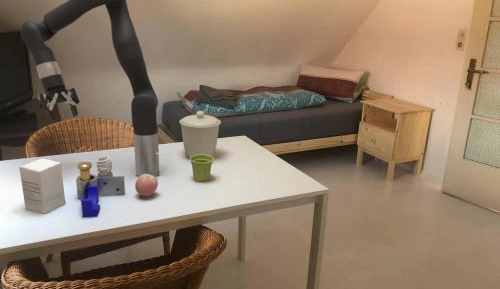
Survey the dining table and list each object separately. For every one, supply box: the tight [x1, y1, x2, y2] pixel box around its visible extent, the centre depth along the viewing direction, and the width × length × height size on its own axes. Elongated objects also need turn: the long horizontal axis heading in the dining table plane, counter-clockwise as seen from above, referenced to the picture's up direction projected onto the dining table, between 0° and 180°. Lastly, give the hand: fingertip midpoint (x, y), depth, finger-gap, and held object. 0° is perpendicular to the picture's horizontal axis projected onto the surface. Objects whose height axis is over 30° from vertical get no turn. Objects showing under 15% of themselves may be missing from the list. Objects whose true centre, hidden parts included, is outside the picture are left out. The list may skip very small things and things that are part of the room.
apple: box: [134, 174, 159, 197], centre depth 153 cm, size 8×8×8 cm
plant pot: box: [189, 154, 215, 183], centre depth 169 cm, size 9×9×9 cm
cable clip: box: [80, 185, 101, 218], centre depth 142 cm, size 12×4×6 cm, turn 9°
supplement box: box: [19, 158, 66, 215], centre depth 141 cm, size 9×9×15 cm
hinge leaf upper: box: [75, 173, 126, 197], centre depth 152 cm, size 16×7×7 cm, turn 102°
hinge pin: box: [76, 161, 92, 181], centre depth 150 cm, size 5×5×12 cm
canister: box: [179, 110, 222, 159], centre depth 192 cm, size 18×18×21 cm
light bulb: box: [95, 155, 113, 177], centre depth 159 cm, size 6×6×12 cm
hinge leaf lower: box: [76, 181, 100, 201], centre depth 147 cm, size 7×16×7 cm, turn 12°
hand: (65, 118), depth 160 cm, fingers open, 8 cm apart
